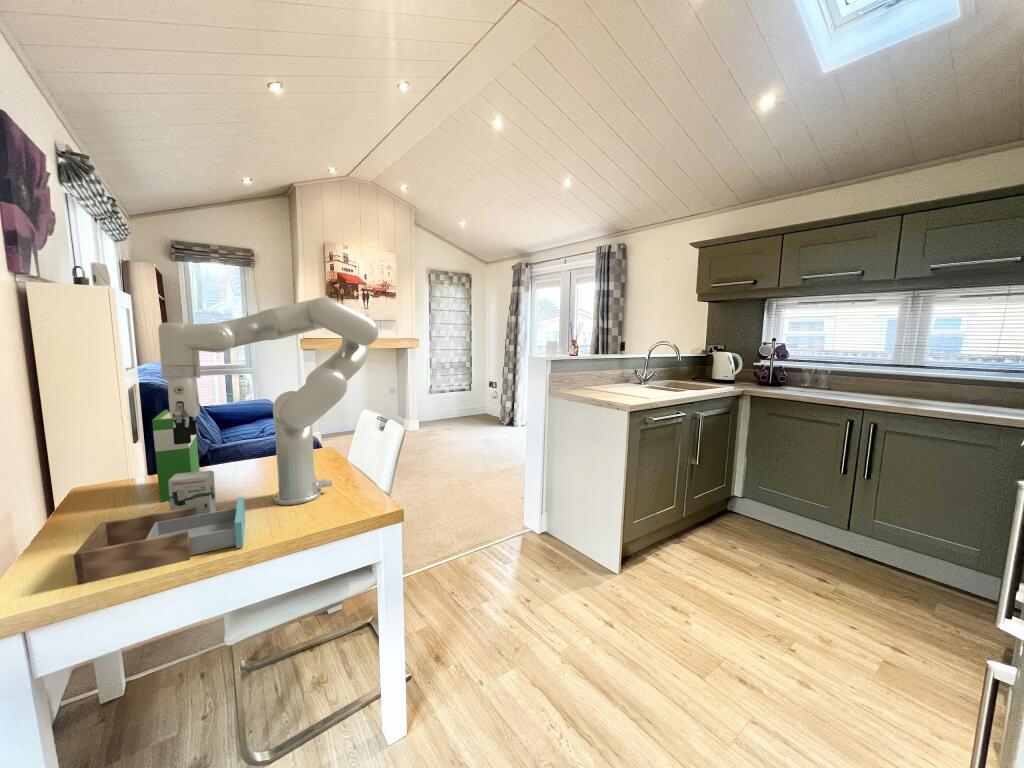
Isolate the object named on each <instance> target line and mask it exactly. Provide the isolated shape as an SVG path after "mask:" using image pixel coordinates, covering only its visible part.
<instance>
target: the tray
mask: <svg viewBox="0 0 1024 768" xmlns="http://www.w3.org/2000/svg"><path fill="white" fill-rule="evenodd" d="M245 510H246V509H245V498H244V496H239V497H237V503H236V507H233V508H228V509H227V508H226V509H223V510H216V512H210V513H205V514H199V515H194V516H188V517H182V518H177V519H171V520H166V521H160V522H155V524H154V526H153V527H152V529H151V531H150V533H149V535H148V536H147V538H146V539H150V538H155V537H160V536H165V535H170V534H175V533H180V532H185V531H188V534H189V545H190V556H194V555H198V554H203V553H207V552H213V551H216V550H221V549H225V548H230V547H234V546H236V549H240V548H244V542H245V541H244V540H245V526H246V513H245V512H246V511H245Z"/></svg>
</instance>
